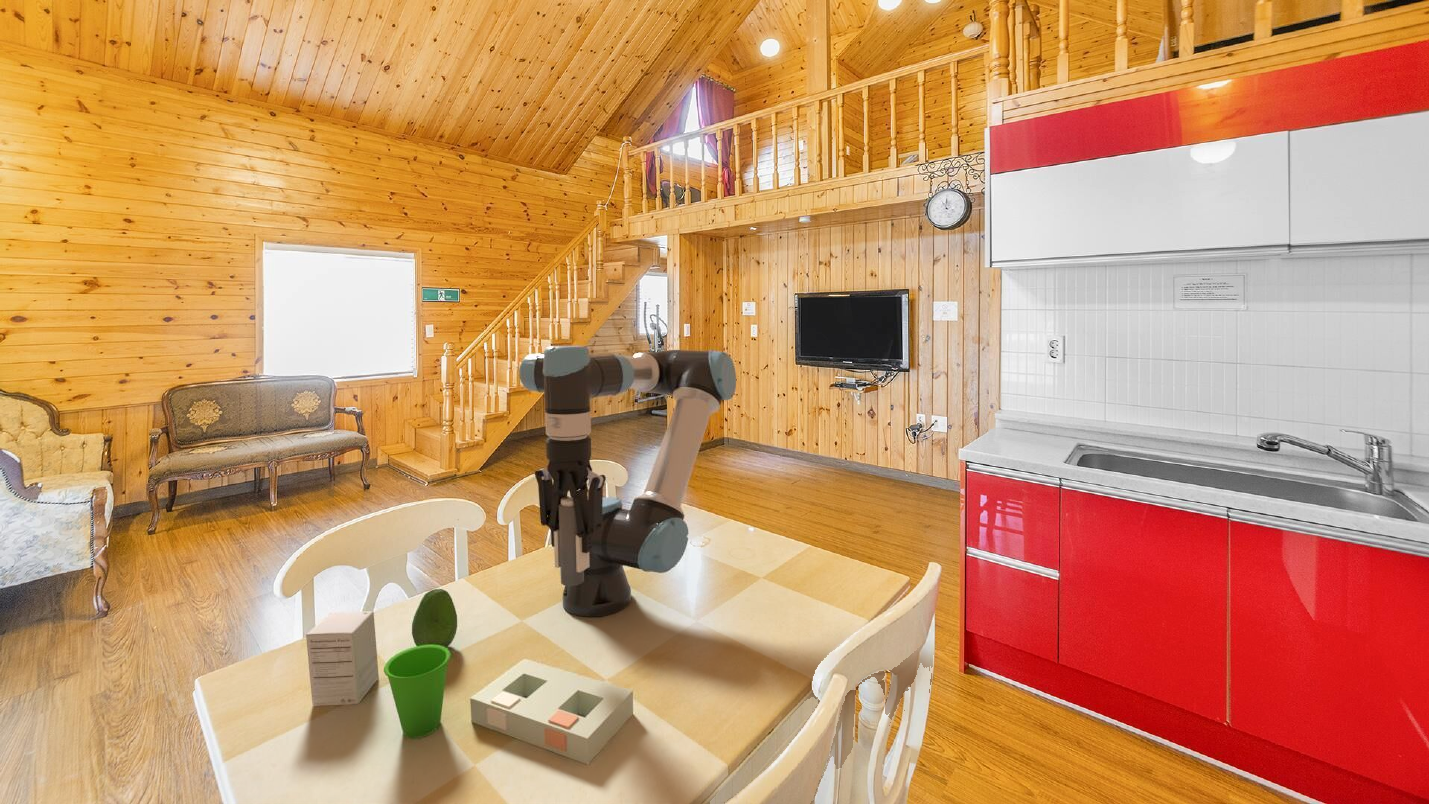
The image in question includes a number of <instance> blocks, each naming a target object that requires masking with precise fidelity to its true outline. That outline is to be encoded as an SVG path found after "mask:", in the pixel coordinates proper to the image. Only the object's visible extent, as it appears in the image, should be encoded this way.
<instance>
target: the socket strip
mask: <svg viewBox="0 0 1429 804" xmlns="http://www.w3.org/2000/svg"><path fill="white" fill-rule="evenodd" d="M469 700H470V716H471V718H470V719H471V723H474V724H476V725H479V726H482V727H485V728H487V729H490V730H493V731H495V732H499V733H500V734H504V735H506V736H509V737H512V738H514V739H517V740H519V741H523V742H525V743H529V744H530V745H533V746H536V747H539V748H541V749H543V750H547V751H550V752H553V753H556V754H558V755H562V756H564V757H567V758H569V759H572V760H575V761H577V762H580V763H582V764H585V765H589V764H590V763H591V762H592V761H593V760H594V759H595V757H596V756H597V755H598V754H599V753H600V752H601V751H602V749H604V747H606V745H607V744H608V743H609V742H610V740H611V739H612V738H613V737H614V735H616V734H617V733H618V731H620V729H621V728H622V727H623V726H624V725H625V724H626V722H627V721H628V720H629V719H630V718H631V717H632V716H633V715H634V690H632V689H628V688H625V687H622V686H619V685H615V684H612V683H609V682H605V681H602V680H598V679H595V678H591V677H588V676H584V675H581V674H579V673H575V672H572V671H569V670H568V671H567V670H565V669H562V668H558V667H554V666H550V665H548V664H545V663H540V662H539V661H535V660H531V659H527V658H523V659H522V660H520V661H519V662H517V663H516V664H514V665H513V666H512V667H511V668H509V669H508V670H507V671H506V672H504V673H503V674H501V675H500V676H498V677H497V678H496V679H494V680H493V681H492V682H489V683H488V684H487V685H486V686H485V687H483V688H482V689H481V690H479V691H478V692H476V693H475V694H474V695H472V696H471V697H470V698H469ZM581 715H582V716H581ZM584 716H585V717H584Z"/></svg>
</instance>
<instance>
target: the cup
mask: <svg viewBox="0 0 1429 804" xmlns="http://www.w3.org/2000/svg"><path fill="white" fill-rule="evenodd" d="M451 657H452V656H451V652H450V650H449V649H448V647H447V648H445V647H444V646H440V645H422V646H416V645H415V646H413V647H410V648H407V649H405V650H402V651H400V652H398V653H396V654H395V655H393V656H391V657H390V658H389V659H388V661H387V662H386V663H385V665H384V667H383V672H384V674H385V676H387V679H388V681H389V687H390V690H391V693H392V697H393V701H394V705H395V709H396V711H397V716H398V719H399V723H400V726H401V730H402V732H403V734H404V736H406V737H407V738H411V739H418V738H423V737H425V736H428V735H430V734H432V733H434V731H436V730H437V729H438V727H439V725H440V723H441V720H442V714H443V713H442V712H443V704H444V695H445V689H446V688H445V687H446V680H447V670H448V664H449V663H448V662H449V661H450V659H451Z"/></svg>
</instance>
